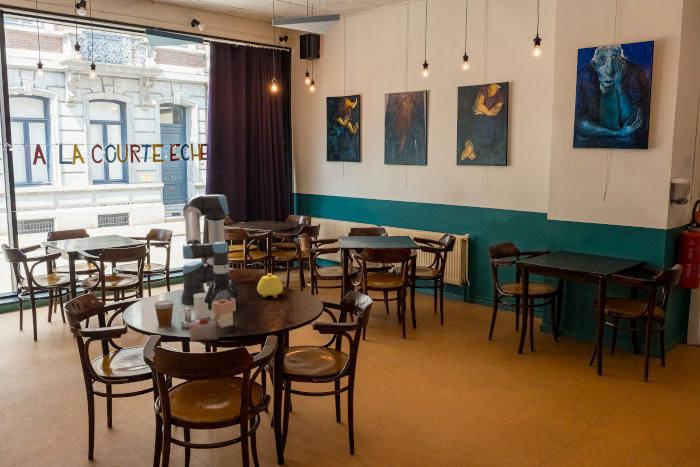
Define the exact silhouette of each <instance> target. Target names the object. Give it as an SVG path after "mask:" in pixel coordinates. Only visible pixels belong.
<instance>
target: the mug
mask: <svg viewBox="0 0 700 467" xmlns="http://www.w3.org/2000/svg"><path fill="white" fill-rule="evenodd" d="M206 295H207V292H206V293H198V294H195V295H194V304H193V307H194V308H193V309H194V315H193V317H194V318H195V319H200V320H202V319H204V318H205V319H207V318H210V317H211V316H209V310H208V303H205V302H204V300H205V297H206Z"/></svg>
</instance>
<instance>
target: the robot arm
mask: <svg viewBox="0 0 700 467" xmlns="http://www.w3.org/2000/svg"><path fill="white" fill-rule="evenodd" d="M227 200H228V199H227V196H226V195H225V194H219V193H218V194H197V195H194V196H193V197H191V198H189V199H188V200H187V202H186V203H185V205H184V207H183V209H182V215H183V218H184V219H185V222H184V224H185V240H186V241H185V242H186V244H183V245H182V256H183V259H184V260H196V261H191V262H187V263H185V264H183V267H182V274H183V275H182V276H183V290H182V294H181V298H180V303H181V304H184V305H194V295H195V294H198V293H207V295H206V297H205V300H204V302H205V303H208V310H209V316H210V317H213V316H214V306H213V303H212V302H214V300H215V299H216V297H217V295H218V293H220V292H222V291H226V292H227V293H228V294H229V296H231V297H230V301H232V302H234V312H235V311H236V304H237V299H238V297H239V296H240V293H239V291H238V288H237V286H236V284H235V281H234V280H235V279H232V278H231V279H230V271H231V270H230V268H231V266H230V265H231V264H230V262H229V244H228V242H226V241H225V233H224V231H225V229H224V228H225V227H224V225H225V224H224V221H225V220H226V219H227V216H228V215H229V213H230V212H229V206H228V201H227ZM202 216H205V220H207V221H208V223H207V224H208V227H207V228H208V243H202V236H201V223H200V222H201V220H200V218H201V217H202ZM197 259H198V260H197ZM201 259H207V260H206V263H204V261H202V260H201ZM205 284H208V289H207V292H206V290H205V289H206V288H205Z"/></svg>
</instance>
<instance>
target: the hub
mask: <svg viewBox="0 0 700 467" xmlns="http://www.w3.org/2000/svg"><path fill="white" fill-rule="evenodd" d="M195 322H196V320H194V319H192V308H191V307H184V320H182V321H181V322H180V324H181V325H180V327H181V329H183V330H189V329H190V328H189V325H190V324H191V323H195Z"/></svg>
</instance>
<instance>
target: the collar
mask: <svg viewBox="0 0 700 467" xmlns="http://www.w3.org/2000/svg"><path fill="white" fill-rule="evenodd" d="M212 303H213V306H214V313H217V314H220V315H222V314H226V313H230V312H233V313H234V312H235V311H234V302H232V301H231V300H228V299H219V300H215V301H213V302H212Z"/></svg>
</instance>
